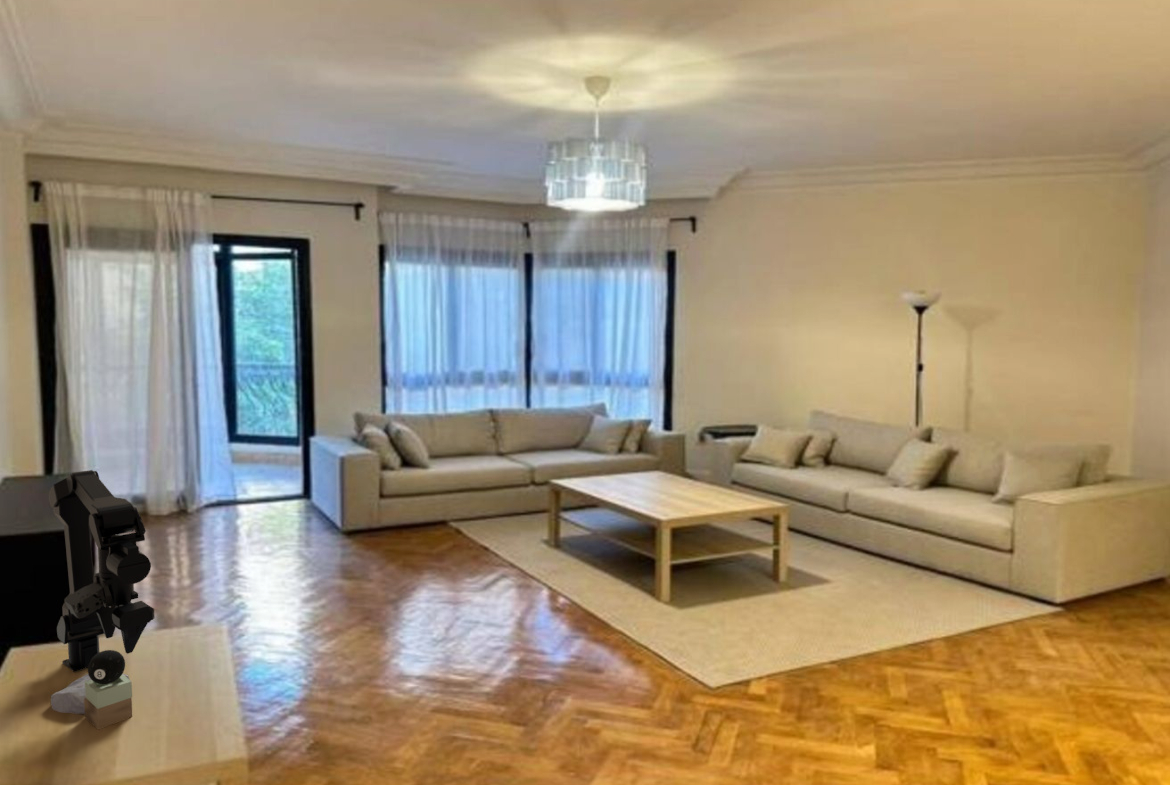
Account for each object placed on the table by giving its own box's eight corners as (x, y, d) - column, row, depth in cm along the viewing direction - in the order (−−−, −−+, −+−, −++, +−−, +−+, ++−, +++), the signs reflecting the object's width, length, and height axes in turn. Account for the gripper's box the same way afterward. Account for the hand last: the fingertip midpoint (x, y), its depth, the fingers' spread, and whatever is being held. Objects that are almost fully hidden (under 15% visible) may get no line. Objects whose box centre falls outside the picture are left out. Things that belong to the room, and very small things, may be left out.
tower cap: (85, 697, 156) (84, 681, 156) (119, 686, 161) (118, 671, 160) (97, 708, 152) (96, 692, 152) (132, 697, 157) (131, 681, 156)
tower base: (85, 718, 156) (84, 698, 156) (118, 706, 161) (117, 686, 160) (98, 729, 153) (97, 709, 152) (132, 717, 157) (131, 697, 157)
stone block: (46, 720, 159) (90, 716, 157) (41, 696, 159) (85, 692, 157) (93, 692, 170) (135, 688, 168) (89, 670, 170) (130, 666, 168)
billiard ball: (131, 673, 159) (129, 644, 158) (117, 689, 153) (115, 658, 152) (97, 674, 158) (96, 645, 158) (83, 690, 153) (81, 659, 152)
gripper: (50, 566, 158) (54, 643, 160) (89, 593, 146) (93, 676, 148) (112, 552, 166) (115, 625, 169) (154, 577, 155) (157, 655, 157)
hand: (119, 645), depth 160 cm, fingers open, 9 cm apart
